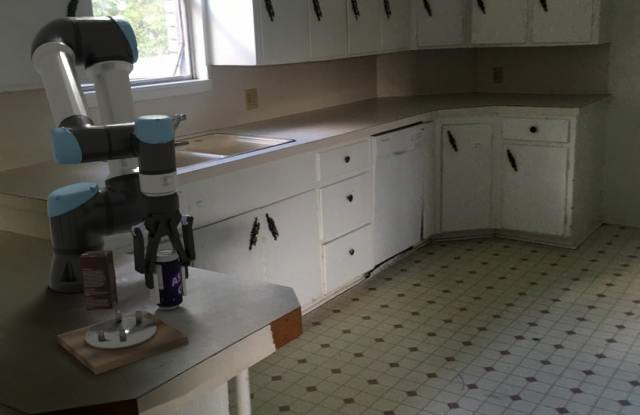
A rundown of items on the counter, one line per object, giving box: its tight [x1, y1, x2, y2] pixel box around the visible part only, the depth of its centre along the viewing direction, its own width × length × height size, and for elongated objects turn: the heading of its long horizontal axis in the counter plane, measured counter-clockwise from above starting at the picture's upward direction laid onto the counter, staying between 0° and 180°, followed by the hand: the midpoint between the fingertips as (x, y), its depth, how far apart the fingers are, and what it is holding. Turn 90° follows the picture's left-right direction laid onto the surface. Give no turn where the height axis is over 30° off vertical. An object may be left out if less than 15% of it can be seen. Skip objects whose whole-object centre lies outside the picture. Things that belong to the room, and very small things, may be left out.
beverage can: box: [154, 248, 184, 311], centre depth 144 cm, size 6×6×12 cm
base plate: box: [56, 309, 189, 376], centre depth 129 cm, size 18×18×2 cm
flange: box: [85, 310, 157, 351], centre depth 128 cm, size 13×13×3 cm
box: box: [79, 249, 119, 310], centre depth 146 cm, size 6×4×12 cm
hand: (168, 297), depth 145 cm, fingers closed on beverage can, 6 cm apart
